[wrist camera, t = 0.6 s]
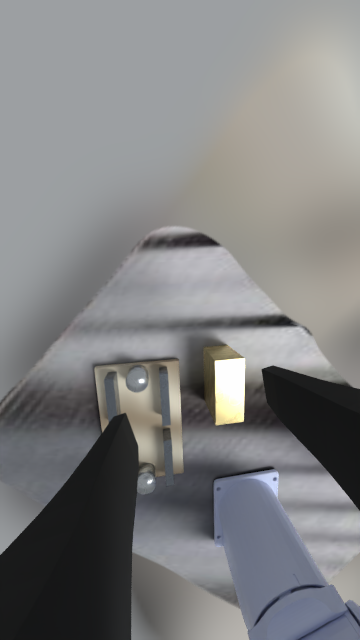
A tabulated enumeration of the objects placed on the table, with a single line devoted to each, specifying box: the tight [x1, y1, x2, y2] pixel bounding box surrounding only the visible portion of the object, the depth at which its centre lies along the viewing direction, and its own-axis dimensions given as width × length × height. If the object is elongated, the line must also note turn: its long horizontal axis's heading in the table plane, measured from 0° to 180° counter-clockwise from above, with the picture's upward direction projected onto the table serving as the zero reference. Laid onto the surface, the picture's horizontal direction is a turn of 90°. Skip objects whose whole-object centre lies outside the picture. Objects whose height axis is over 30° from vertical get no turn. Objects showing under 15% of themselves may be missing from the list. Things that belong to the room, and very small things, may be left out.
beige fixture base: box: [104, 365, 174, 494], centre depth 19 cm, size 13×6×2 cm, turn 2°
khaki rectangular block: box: [203, 345, 245, 425], centre depth 19 cm, size 6×3×4 cm, turn 2°
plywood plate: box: [94, 359, 184, 477], centre depth 20 cm, size 13×8×1 cm, turn 2°
